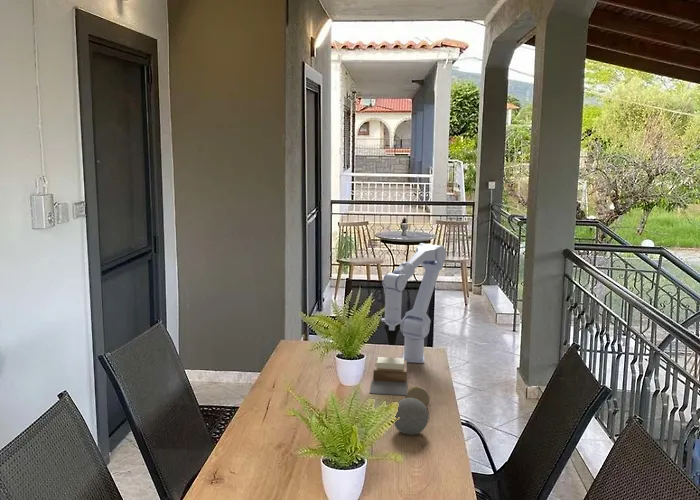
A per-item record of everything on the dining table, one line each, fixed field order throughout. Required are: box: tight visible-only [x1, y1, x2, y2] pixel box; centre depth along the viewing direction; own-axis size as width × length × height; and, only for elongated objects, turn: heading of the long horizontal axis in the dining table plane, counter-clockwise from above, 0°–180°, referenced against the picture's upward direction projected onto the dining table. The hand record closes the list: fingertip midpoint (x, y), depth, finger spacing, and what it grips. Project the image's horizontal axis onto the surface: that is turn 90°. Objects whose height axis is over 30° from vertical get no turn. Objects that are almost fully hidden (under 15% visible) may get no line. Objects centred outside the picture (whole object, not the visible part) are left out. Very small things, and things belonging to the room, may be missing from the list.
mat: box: [369, 380, 408, 397], centre depth 215 cm, size 11×12×1 cm
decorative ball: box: [393, 397, 429, 436], centre depth 182 cm, size 10×10×10 cm
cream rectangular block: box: [377, 356, 404, 370], centre depth 225 cm, size 6×9×2 cm, turn 84°
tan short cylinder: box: [405, 385, 430, 408], centre depth 201 cm, size 8×10×10 cm
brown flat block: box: [372, 358, 408, 383], centre depth 226 cm, size 12×11×4 cm
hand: (391, 344), depth 231 cm, fingers closed
